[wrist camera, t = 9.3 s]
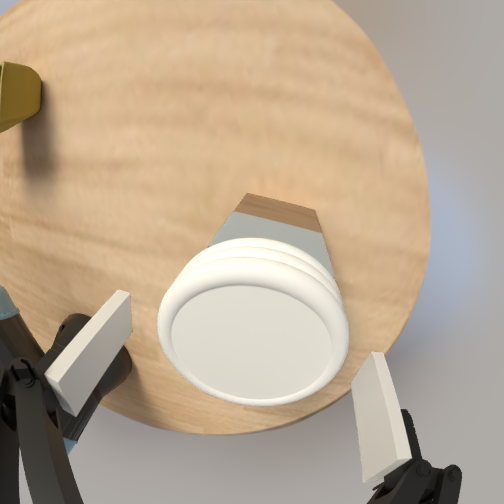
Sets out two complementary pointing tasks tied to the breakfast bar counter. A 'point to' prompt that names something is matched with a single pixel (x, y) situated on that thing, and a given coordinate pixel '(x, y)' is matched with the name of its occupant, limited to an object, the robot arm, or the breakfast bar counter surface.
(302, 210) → the block bottom
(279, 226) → the block top
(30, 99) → the flower pot
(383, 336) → the breakfast bar counter surface
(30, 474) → the robot arm
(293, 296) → the white round disc
